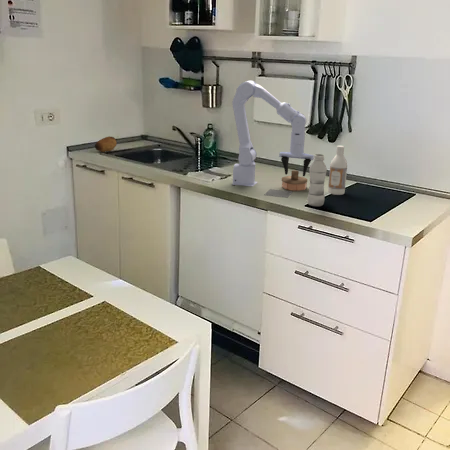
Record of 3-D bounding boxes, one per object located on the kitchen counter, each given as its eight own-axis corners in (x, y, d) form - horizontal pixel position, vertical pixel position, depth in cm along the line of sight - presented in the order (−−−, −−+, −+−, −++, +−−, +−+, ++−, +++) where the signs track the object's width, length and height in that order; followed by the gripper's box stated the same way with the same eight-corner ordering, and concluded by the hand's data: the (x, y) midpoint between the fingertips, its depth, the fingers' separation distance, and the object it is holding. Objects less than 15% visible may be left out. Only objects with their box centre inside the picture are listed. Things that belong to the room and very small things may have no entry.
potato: (100, 159, 288) (90, 149, 289) (118, 150, 296) (109, 140, 298) (103, 149, 282) (93, 140, 284) (121, 140, 291) (111, 131, 292)
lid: (278, 182, 223) (279, 172, 222) (285, 176, 233) (285, 167, 231) (304, 185, 219) (304, 175, 218) (309, 179, 229) (310, 169, 228)
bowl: (280, 189, 225) (280, 182, 224) (285, 184, 234) (286, 176, 233) (303, 192, 222) (304, 184, 221) (307, 186, 231) (308, 179, 230)
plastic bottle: (323, 209, 201) (328, 157, 194) (305, 207, 202) (309, 156, 195) (324, 204, 207) (328, 153, 200) (306, 202, 208) (310, 152, 201)
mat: (263, 196, 215) (263, 194, 215) (269, 190, 224) (270, 188, 224) (287, 198, 212) (287, 197, 212) (293, 192, 221) (293, 191, 221)
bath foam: (325, 193, 221) (329, 146, 214) (330, 190, 227) (335, 143, 220) (341, 196, 218) (346, 148, 211) (346, 192, 224) (351, 145, 217)
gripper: (278, 143, 220) (276, 175, 224) (312, 146, 216) (310, 178, 220) (282, 140, 226) (280, 171, 231) (315, 143, 222) (313, 175, 226)
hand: (295, 174), depth 226 cm, fingers open, 7 cm apart
